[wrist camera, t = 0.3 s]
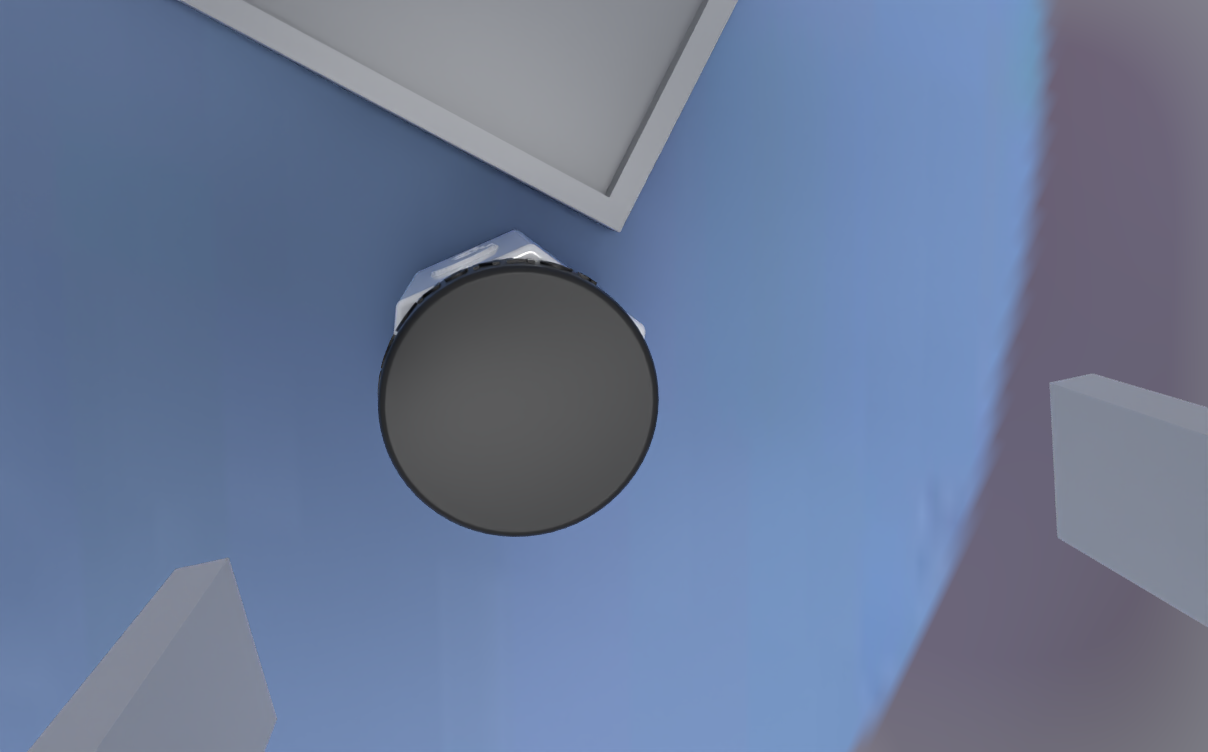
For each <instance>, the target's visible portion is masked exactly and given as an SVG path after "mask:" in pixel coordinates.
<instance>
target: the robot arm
mask: <svg viewBox="0 0 1208 752" xmlns="http://www.w3.org/2000/svg"><path fill="white" fill-rule="evenodd" d="M1050 400H1051V420H1052V439H1053V459H1054V480H1055V499H1056V519H1057V537H1058V538H1059V539H1061V540H1063V541H1064V542H1066V543H1068V544H1069V545H1071V546H1073V547H1075V548H1076V549H1078V550H1079V551H1081V552H1083V553H1084V554H1086V555H1088V556H1089V557H1091V558H1093V559H1094V560H1096V561H1098V562H1099V563H1101V564H1103V565H1105V566H1106V567H1108V568H1110V569H1111V570H1113V571H1115V572H1116V573H1118V574H1120V575H1121V576H1123V577H1124V578H1126V579H1128V580H1129V581H1131V582H1133V583H1135V584H1136V585H1138V586H1140V587H1141V588H1143V589H1145V590H1146V591H1148V592H1150V593H1151V594H1153V595H1155V596H1156V597H1158V598H1160V599H1161V600H1163V601H1165V602H1166V603H1168V604H1170V605H1171V606H1173V607H1175V608H1176V609H1178V610H1180V611H1181V612H1183V613H1185V614H1187V615H1188V616H1190V617H1192V618H1193V619H1195V620H1196V621H1199V622H1200V623H1202V624H1203V625H1205V626H1206V627H1208V407H1204V406H1201V405H1197V404H1194V403H1190V402H1187V401H1184V400H1180V399H1177V398H1174V397H1170V396H1167V395H1164V394H1160V393H1157V392H1153V391H1150V390H1147V389H1143V388H1140V387H1136V386H1133V385H1130V384H1126V383H1123V382H1120V381H1116V380H1113V379H1109V378H1106V377H1102V376H1099V375H1096V374H1089V375H1084V376H1079V377H1075V378H1070V379H1065V380H1061V381H1056V382H1051V383H1050ZM276 720H277V718H276V714H275V711H274V707H273V704H272V701H271V697H270V694H269V691H268V687H267V684H266V681H265V677H264V674H263V671H262V667H261V664H260V660H259V657H258V654H257V650H256V647H255V644H254V640H253V637H252V634H251V630H250V627H249V624H248V620H247V617H246V613H245V610H244V607H243V603H242V600H241V597H240V593H239V590H238V587H237V583H236V580H235V577H234V573H233V570H232V567H231V563H230V560H229V558H225V559H220V560H215V561H211V562H206V563H201V564H197V565H192V566H187V567H183V568H178V569H175V570H174V572H173V573H172V574H171V575H170V577H169V578H168V579H167V580H166V582H165V583H164V584H163V585H162V586H161V588H160V589H159V590H158V591H157V593H156V594H155V595H154V596H153V598H152V599H151V600H150V601H149V602H148V604H147V605H146V606H145V607H144V609H143V610H142V611H141V612H140V614H139V615H138V616H137V617H136V619H135V620H134V621H133V622H132V623H131V625H130V626H129V627H128V628H127V630H126V631H125V632H124V633H123V635H122V636H121V637H120V638H119V639H118V641H117V642H116V643H115V644H114V646H113V647H112V648H111V649H110V651H109V652H108V653H107V654H106V655H105V657H104V658H103V659H102V660H101V662H100V663H99V664H98V665H97V667H96V668H95V669H94V670H93V672H92V673H91V674H90V675H89V676H88V678H87V679H86V680H85V681H84V683H83V684H82V685H81V686H80V688H79V689H78V690H77V691H76V692H75V694H74V695H73V696H72V697H71V699H70V700H69V701H68V702H67V704H66V705H65V706H64V707H63V709H62V710H61V711H60V712H59V713H58V715H57V716H56V717H55V718H54V720H53V721H52V722H51V723H50V725H49V726H48V727H47V728H46V729H45V731H44V732H43V733H42V734H41V736H40V737H39V738H38V739H37V741H36V742H35V743H34V744H33V746H32V747H31V748H30V749H29V750H28V752H264V751H265V749H266V746H267V744H268V741H269V738H270V736H271V733H272V731H273V728H274V725H275V723H276Z"/></svg>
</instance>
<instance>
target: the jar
mask: <svg viewBox="0 0 1208 752" xmlns="http://www.w3.org/2000/svg"><path fill="white" fill-rule="evenodd" d="M596 284H597V283H596V282H595V281H593V280H592V279H590V278H589V277H587V276H585V275H583V274H582V273H579V272H578V273H576V272H574V271H573V270H572V269H570V268H569V267H568V266H566V265H565V264H563V263H562V262H561V261H559V260H558V259H557V258H555V257H554V256H553V255H551V254H550V253H549V252H547V251H546V250H545V249H543V248H542V247H541V246H539V245H538V244H537V243H535V242H534V241H533V240H531V239H530V238H529V237H527V236H526V235H525V234H523V233H522V232H520V231H519V230H512V231H510V232H508V233H505V234H503V235H501V236H499V237H496V238H494V239H492V240H489V241H487V242H485V243H483V244H480V245H478V246H476V247H473V248H471V249H469V250H467V251H464V252H462V253H460V254H457V255H455V256H453V257H451V258H448V259H446V260H444V261H441V262H439V263H437V264H435V265H432V266H430V267H428V268H425V269H423V270H421V271H419V272H417V273H416V274H415V275H414V277H413V279H412V280H411V282H410V284H409V285H408V287H407V288H406V290H405V292H404V293H403V295H402V297H401V298H400V300H399V301H398V303H397V305H396V311H395V325H394V334H393V336H392V338H391V340H390V342H389V345H388V347H387V350H386V353H385V355H384V358H383V362H382V366H381V368H382V369H381V371H380V375H379V383H378V414H379V423H380V428H381V433H382V437H383V441H384V444H385V447H386V449H387V452H388V454H389V457H390V459H391V461H392V463H393V465H394V467H395V468H396V470H397V472H398V473H399V475H400V477H401V478H402V479H403V481H404V482H405V483H406V485H407V486H408V487H409V488H410V489H411V491H412V492H413V493H414V494H415V495H416V496H417V497H418V498H419V499H420V500H421V501H422V502H424V503H425V504H426V505H427V506H428V507H430V508H431V509H432V510H434V511H435V512H436V513H438V514H440V515H441V516H443V517H445V518H446V519H448V520H450V521H452V522H454V523H456V524H458V525H460V526H463V527H466V528H468V529H471V530H474V531H478V532H482V533H485V534H491V535H497V536H509V537H523V536H534V535H541V534H546V533H551V532H554V531H558V530H561V529H564V528H567V527H569V526H572V525H574V524H577V523H579V522H581V521H582V520H584V519H586V518H588V517H590V516H591V515H593V514H595V513H596V512H598V511H599V510H601V509H602V508H603V507H605V506H606V505H607V504H608V503H610V502H611V501H612V500H613V499H614V498H615V497H616V496H617V495H618V494H619V493H620V492H621V491H622V490H623V489H624V488H625V487H626V486H627V484H628V483H629V482H630V480H631V479H632V478H633V476H634V475H635V474H636V472H637V470H638V469H639V467H640V465H641V464H642V462H643V460H644V458H645V456H646V454H647V452H648V449H649V447H650V444H651V441H652V438H653V435H654V431H655V427H656V421H657V415H658V402H659V397H658V382H657V376H656V370H655V366H654V362H653V359H652V356H651V353H650V351H649V348H648V346H647V343H646V341H645V327H644V326H643V325H642V324H641V323H640V322H639V321H637V320H636V319H635V318H634V317H632V316H631V315H630V314H629V313H627V312H626V311H625V310H624V309H623V308H622V307H621V306H620V305H619V304H618V303H617V302H616V301H615V300H614V299H612V298H611V297H610V296H609V295H608V294H606V293H605V292H604V291H602V290H601V289H600V288H599V287H597V286H596Z"/></svg>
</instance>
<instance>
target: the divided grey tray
mask: <svg viewBox="0 0 1208 752" xmlns="http://www.w3.org/2000/svg"><path fill="white" fill-rule="evenodd" d="M177 1H179V2H181V3H183V4H185V5H187V6H189V7H191V8H193V9H194V10H196V11H198V12H200V13H202V14H204V15H206V16H208V17H210V18H211V19H213V20H215V21H217V22H219V23H221V24H223V25H225V26H227V27H228V28H230V29H232V30H234V31H236V32H238V33H240V34H242V35H244V36H246V37H247V38H249V39H251V40H253V41H255V42H257V43H259V44H261V45H263V46H264V47H266V48H268V49H270V50H272V51H274V52H276V53H278V54H280V55H282V56H283V57H285V58H287V59H289V60H291V61H293V62H295V63H297V64H299V65H300V66H302V67H304V68H306V69H308V70H310V71H312V72H314V73H316V74H317V75H319V76H321V77H323V78H325V79H327V80H329V81H331V82H333V83H335V84H336V85H338V86H340V87H342V88H344V89H346V90H348V91H350V92H352V93H353V94H355V95H357V96H359V97H361V98H363V99H365V100H367V101H369V102H371V103H372V104H374V105H376V106H378V107H380V108H382V109H384V110H386V111H388V112H389V113H391V114H393V115H395V116H397V117H399V118H401V119H403V120H405V121H406V122H408V123H410V124H412V125H414V126H416V127H418V128H420V129H422V130H424V131H425V132H427V133H429V134H431V135H433V136H435V137H437V138H439V139H441V140H442V141H444V142H446V143H448V144H450V145H452V146H454V147H456V148H458V149H460V150H461V151H463V152H465V153H467V154H469V155H471V156H473V157H475V158H477V159H478V160H480V161H482V162H484V163H486V164H488V165H490V166H492V167H494V168H495V169H497V170H499V171H501V172H503V173H505V174H507V175H509V176H511V177H513V178H514V179H516V180H518V181H520V182H522V183H524V184H526V185H528V186H530V187H531V188H533V189H535V190H537V191H539V192H541V193H543V194H545V195H547V196H549V197H550V198H552V199H554V200H556V201H558V202H560V203H562V204H564V205H566V206H567V207H569V208H571V209H573V210H575V211H577V212H579V213H581V214H583V215H584V216H586V217H588V218H590V219H592V220H594V221H596V222H598V223H600V224H602V225H603V226H605V227H607V228H609V229H611V230H614V231H617V232H620V231H621V229H622V227H623V225H624V223H625V221H626V219H627V218H628V216H629V214H630V212H631V210H632V208H633V206H634V204H635V202H636V200H637V198H638V196H639V194H640V192H641V190H642V188H643V186H644V184H645V182H646V180H647V178H648V176H649V174H650V172H651V170H652V168H653V166H654V164H655V162H656V161H657V159H658V157H659V155H660V153H661V151H662V149H663V147H664V145H665V143H666V141H667V139H668V137H669V135H670V133H671V131H672V129H673V127H674V125H675V123H676V121H677V119H678V117H679V115H680V113H681V111H682V109H683V107H684V106H685V104H686V102H687V100H688V98H689V96H690V94H691V92H692V90H693V88H694V86H695V84H696V82H697V80H698V78H699V76H700V74H701V72H702V70H703V68H704V66H705V64H706V62H707V60H708V58H709V56H710V54H711V52H712V51H713V49H714V47H715V45H716V43H717V41H718V39H719V37H720V35H721V33H722V31H723V29H724V27H725V25H726V23H727V21H728V19H729V17H730V15H731V13H732V11H733V9H734V7H735V5H736V3H737V1H738V0H177Z"/></svg>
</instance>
